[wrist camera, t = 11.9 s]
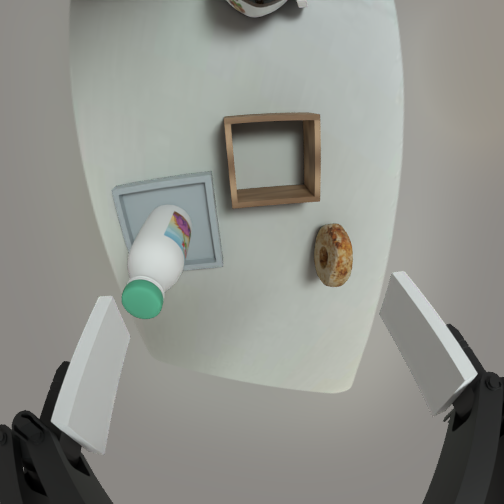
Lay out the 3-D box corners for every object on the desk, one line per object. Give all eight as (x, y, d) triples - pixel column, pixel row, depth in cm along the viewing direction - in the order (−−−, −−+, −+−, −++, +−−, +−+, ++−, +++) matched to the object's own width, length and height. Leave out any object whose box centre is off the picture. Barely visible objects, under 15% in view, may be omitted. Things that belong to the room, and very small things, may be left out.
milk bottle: (148, 243, 46) (113, 326, 29) (147, 201, 42) (101, 271, 25) (192, 246, 47) (177, 333, 30) (193, 204, 44) (174, 278, 26)
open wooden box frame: (224, 116, 38) (223, 118, 33) (307, 112, 38) (320, 114, 33) (231, 195, 44) (232, 208, 39) (308, 188, 45) (319, 201, 40)
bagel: (317, 214, 47) (337, 242, 39) (336, 215, 48) (359, 242, 39) (308, 266, 52) (324, 299, 44) (327, 265, 53) (344, 298, 44)
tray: (116, 185, 41) (111, 190, 39) (211, 170, 42) (210, 174, 40) (138, 267, 49) (135, 275, 47) (223, 259, 50) (223, 266, 48)
